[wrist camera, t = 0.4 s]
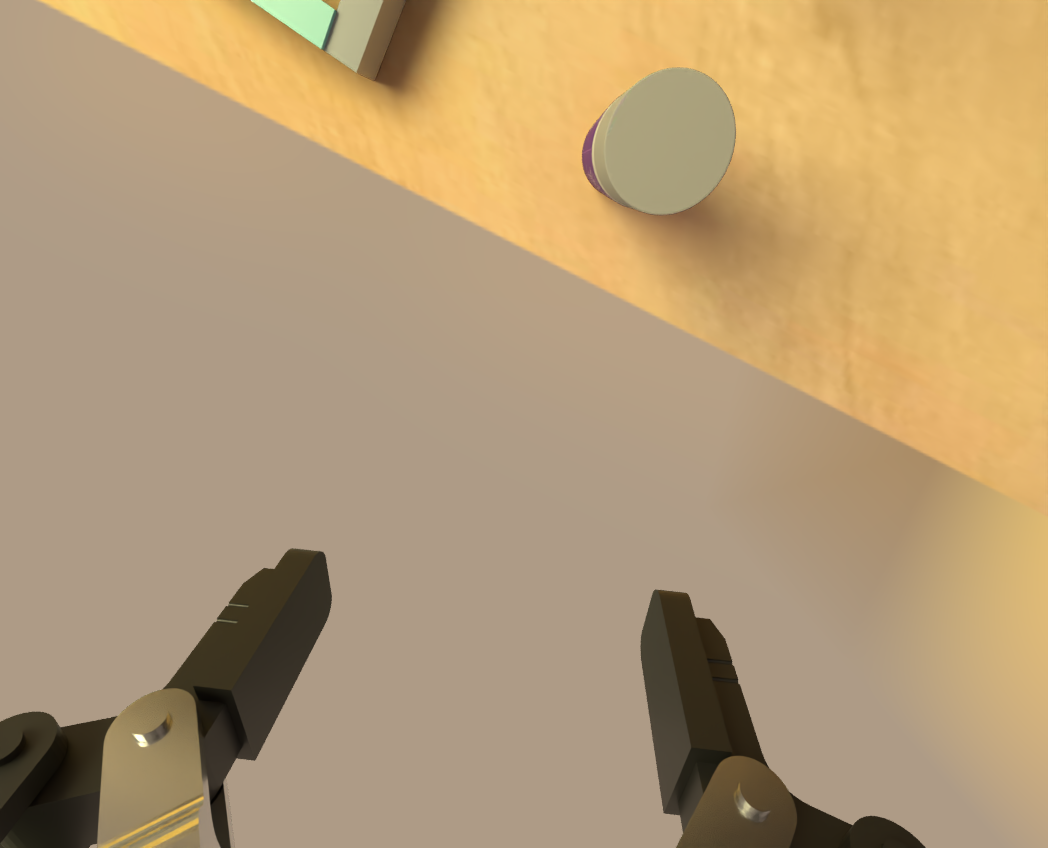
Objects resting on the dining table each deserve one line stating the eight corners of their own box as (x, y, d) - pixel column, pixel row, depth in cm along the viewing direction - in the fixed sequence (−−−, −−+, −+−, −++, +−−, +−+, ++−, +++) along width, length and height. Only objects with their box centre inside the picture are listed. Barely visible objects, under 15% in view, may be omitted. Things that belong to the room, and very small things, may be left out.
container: (572, 186, 31) (583, 200, 18) (594, 99, 29) (625, 44, 16) (644, 205, 32) (706, 233, 18) (671, 120, 29) (764, 83, 16)
